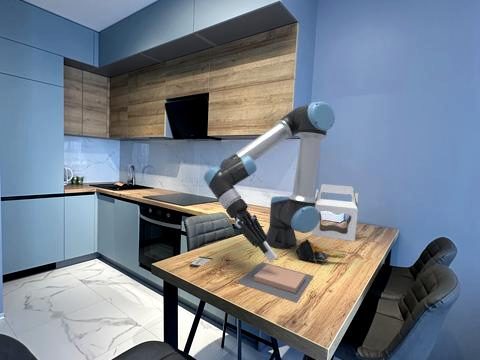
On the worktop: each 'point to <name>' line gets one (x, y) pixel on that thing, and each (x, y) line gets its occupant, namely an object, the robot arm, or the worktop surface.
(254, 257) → the worktop surface
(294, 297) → the mat
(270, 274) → the tile
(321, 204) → the gable box
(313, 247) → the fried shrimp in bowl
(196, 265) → the chocolate bar
